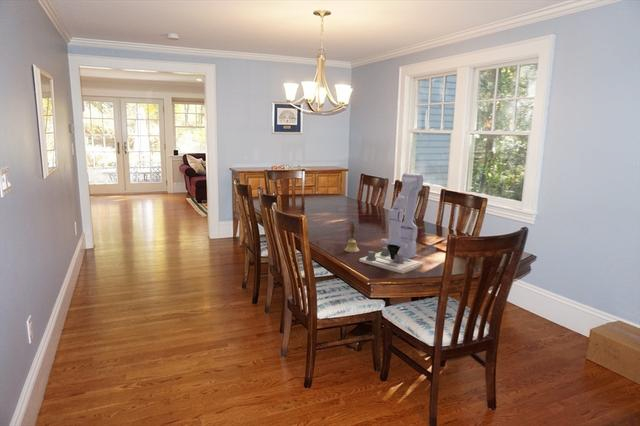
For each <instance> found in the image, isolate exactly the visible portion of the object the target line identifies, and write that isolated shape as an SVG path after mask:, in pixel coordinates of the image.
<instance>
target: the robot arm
mask: <svg viewBox="0 0 640 426" xmlns="http://www.w3.org/2000/svg"><path fill="white" fill-rule="evenodd" d="M401 184H402V187H401V190H400V193H399V196H397V197H396V198H395V200H394V202H393V205H392V207H391V208H390V209H388V212H387V217H386V218H387V223H388V239H387V238H381V239H380V244H386V247H387V248H388V250H389V253H390V257H391V260H394V257H395V254H401V255H402V258H406V259H410V260H411V259H413V258H416V257H418V254H417V242H416V239H417V238H418V226H417V225H416V224H415V223H414V219H415V213H416V207H417V202H418V196H419V192H421V191H422V189H423V184H424V176H423V175H422V173H410V172H409V173H408V172H403V174H402V176H401Z"/></svg>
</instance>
